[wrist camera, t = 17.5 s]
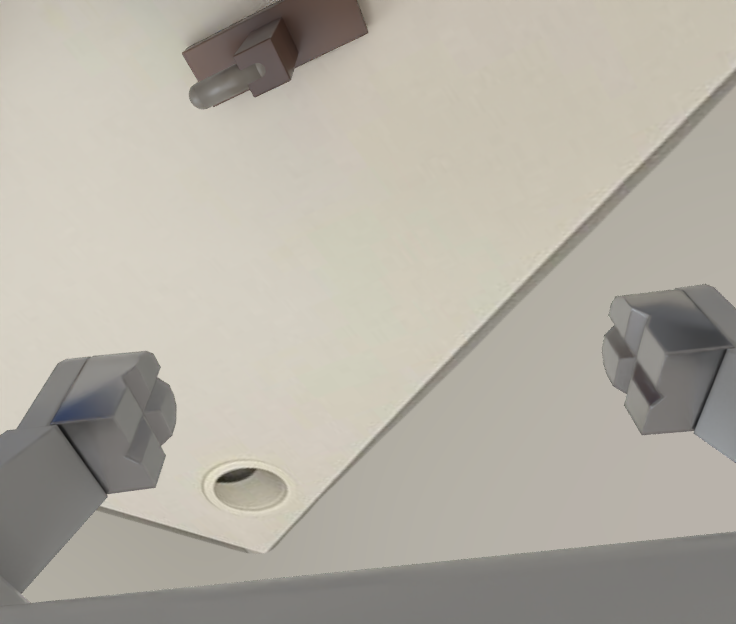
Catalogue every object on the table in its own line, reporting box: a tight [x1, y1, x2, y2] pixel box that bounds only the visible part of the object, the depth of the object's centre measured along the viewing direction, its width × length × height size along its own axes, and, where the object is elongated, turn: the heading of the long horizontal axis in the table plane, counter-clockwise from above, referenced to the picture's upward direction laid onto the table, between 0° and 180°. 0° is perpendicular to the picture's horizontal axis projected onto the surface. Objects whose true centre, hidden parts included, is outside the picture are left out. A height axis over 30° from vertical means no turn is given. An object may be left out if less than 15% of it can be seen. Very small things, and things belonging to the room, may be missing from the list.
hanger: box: [182, 0, 368, 109], centre depth 28 cm, size 10×3×8 cm, turn 112°
